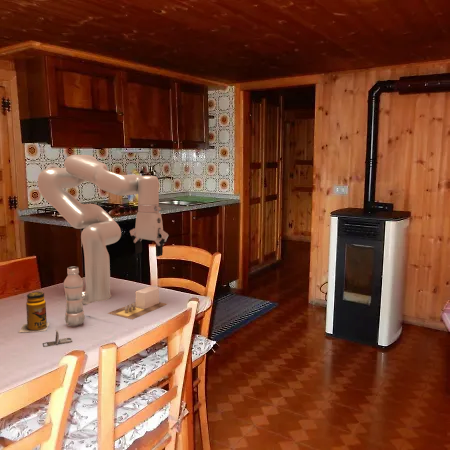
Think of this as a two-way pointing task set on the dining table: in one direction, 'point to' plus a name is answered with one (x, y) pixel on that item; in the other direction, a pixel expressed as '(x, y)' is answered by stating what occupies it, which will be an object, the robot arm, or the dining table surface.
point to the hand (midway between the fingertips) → (148, 254)
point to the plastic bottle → (74, 297)
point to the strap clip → (61, 341)
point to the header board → (135, 310)
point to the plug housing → (147, 297)
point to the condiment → (35, 313)
